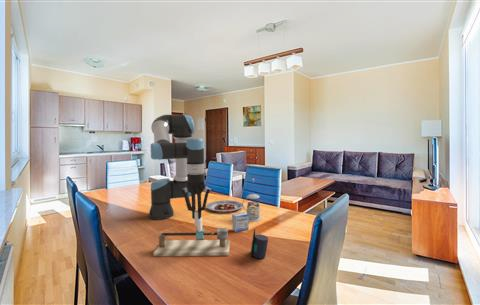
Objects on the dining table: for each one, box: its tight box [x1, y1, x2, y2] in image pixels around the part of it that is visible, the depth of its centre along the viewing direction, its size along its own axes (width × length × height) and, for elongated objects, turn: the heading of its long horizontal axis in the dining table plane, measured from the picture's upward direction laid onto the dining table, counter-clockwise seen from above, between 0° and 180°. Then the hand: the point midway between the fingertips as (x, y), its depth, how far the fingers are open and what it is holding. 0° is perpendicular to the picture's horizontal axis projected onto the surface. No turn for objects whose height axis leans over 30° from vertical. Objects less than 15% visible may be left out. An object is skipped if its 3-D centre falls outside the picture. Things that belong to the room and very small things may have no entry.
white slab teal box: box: [195, 216, 205, 240], centre depth 107 cm, size 3×4×9 cm
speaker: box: [250, 228, 269, 260], centre depth 101 cm, size 8×6×10 cm
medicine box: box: [231, 212, 250, 233], centre depth 129 cm, size 8×4×9 cm, turn 117°
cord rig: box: [153, 227, 231, 257], centre depth 108 cm, size 32×12×9 cm, turn 90°
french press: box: [241, 178, 262, 222], centre depth 146 cm, size 10×12×25 cm
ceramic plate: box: [206, 199, 244, 213], centre depth 169 cm, size 26×26×3 cm
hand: (197, 225), depth 107 cm, fingers closed
